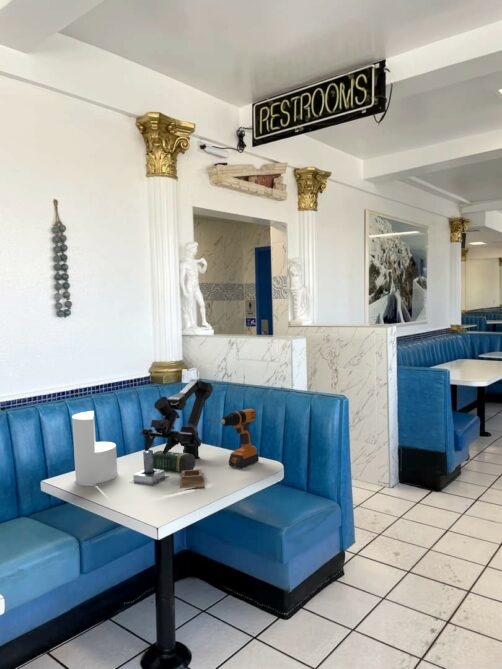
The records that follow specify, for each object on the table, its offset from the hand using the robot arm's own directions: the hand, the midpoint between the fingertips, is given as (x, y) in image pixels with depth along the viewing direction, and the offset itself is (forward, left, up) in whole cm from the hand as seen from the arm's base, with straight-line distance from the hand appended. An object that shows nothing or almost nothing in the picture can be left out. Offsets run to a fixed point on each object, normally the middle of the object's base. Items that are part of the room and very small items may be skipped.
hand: (154, 453), depth 220 cm
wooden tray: (-10, +14, -11) cm, 21 cm away
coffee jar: (-5, -13, -7) cm, 16 cm away
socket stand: (+4, +2, -11) cm, 12 cm away
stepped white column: (+21, -16, -11) cm, 28 cm away
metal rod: (+4, +2, -10) cm, 11 cm away
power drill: (-37, +8, -11) cm, 40 cm away
